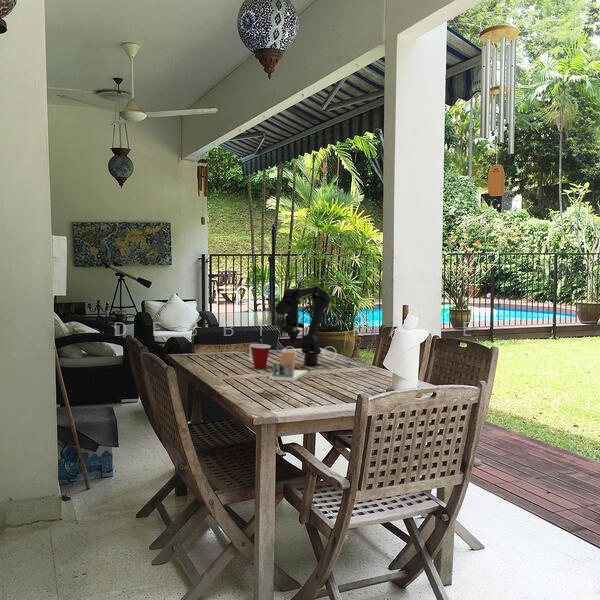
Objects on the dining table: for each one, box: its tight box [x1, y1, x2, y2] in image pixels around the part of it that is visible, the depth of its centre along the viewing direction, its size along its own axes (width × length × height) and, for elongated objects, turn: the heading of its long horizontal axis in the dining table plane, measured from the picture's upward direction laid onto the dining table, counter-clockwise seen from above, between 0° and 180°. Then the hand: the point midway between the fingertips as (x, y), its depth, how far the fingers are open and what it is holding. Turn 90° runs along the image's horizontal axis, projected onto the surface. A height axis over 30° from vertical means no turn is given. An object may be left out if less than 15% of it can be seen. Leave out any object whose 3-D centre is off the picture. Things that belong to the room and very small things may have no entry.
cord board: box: [269, 369, 309, 382], centre depth 308 cm, size 20×12×2 cm, turn 161°
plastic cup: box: [249, 343, 272, 369], centre depth 332 cm, size 11×11×12 cm
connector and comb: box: [271, 362, 293, 378], centre depth 302 cm, size 6×10×6 cm, turn 71°
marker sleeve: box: [280, 350, 296, 373], centre depth 307 cm, size 3×6×10 cm, turn 71°
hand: (292, 343), depth 327 cm, fingers closed
